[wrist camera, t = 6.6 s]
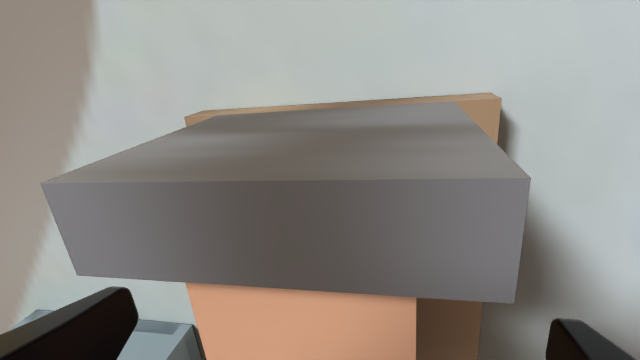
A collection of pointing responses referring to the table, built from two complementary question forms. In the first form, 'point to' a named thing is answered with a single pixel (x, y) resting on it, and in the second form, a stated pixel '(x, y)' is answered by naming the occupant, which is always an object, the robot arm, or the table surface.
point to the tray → (151, 340)
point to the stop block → (302, 324)
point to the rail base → (316, 207)
